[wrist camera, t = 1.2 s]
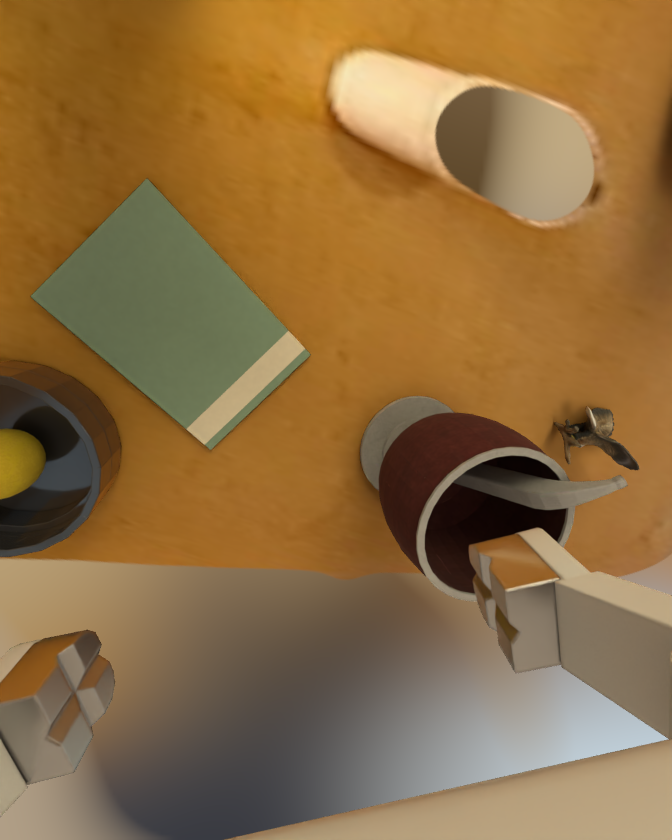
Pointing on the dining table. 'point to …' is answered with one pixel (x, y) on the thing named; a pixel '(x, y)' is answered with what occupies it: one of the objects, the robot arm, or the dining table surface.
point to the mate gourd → (464, 486)
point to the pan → (55, 455)
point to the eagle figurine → (596, 437)
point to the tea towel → (172, 317)
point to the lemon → (19, 461)
